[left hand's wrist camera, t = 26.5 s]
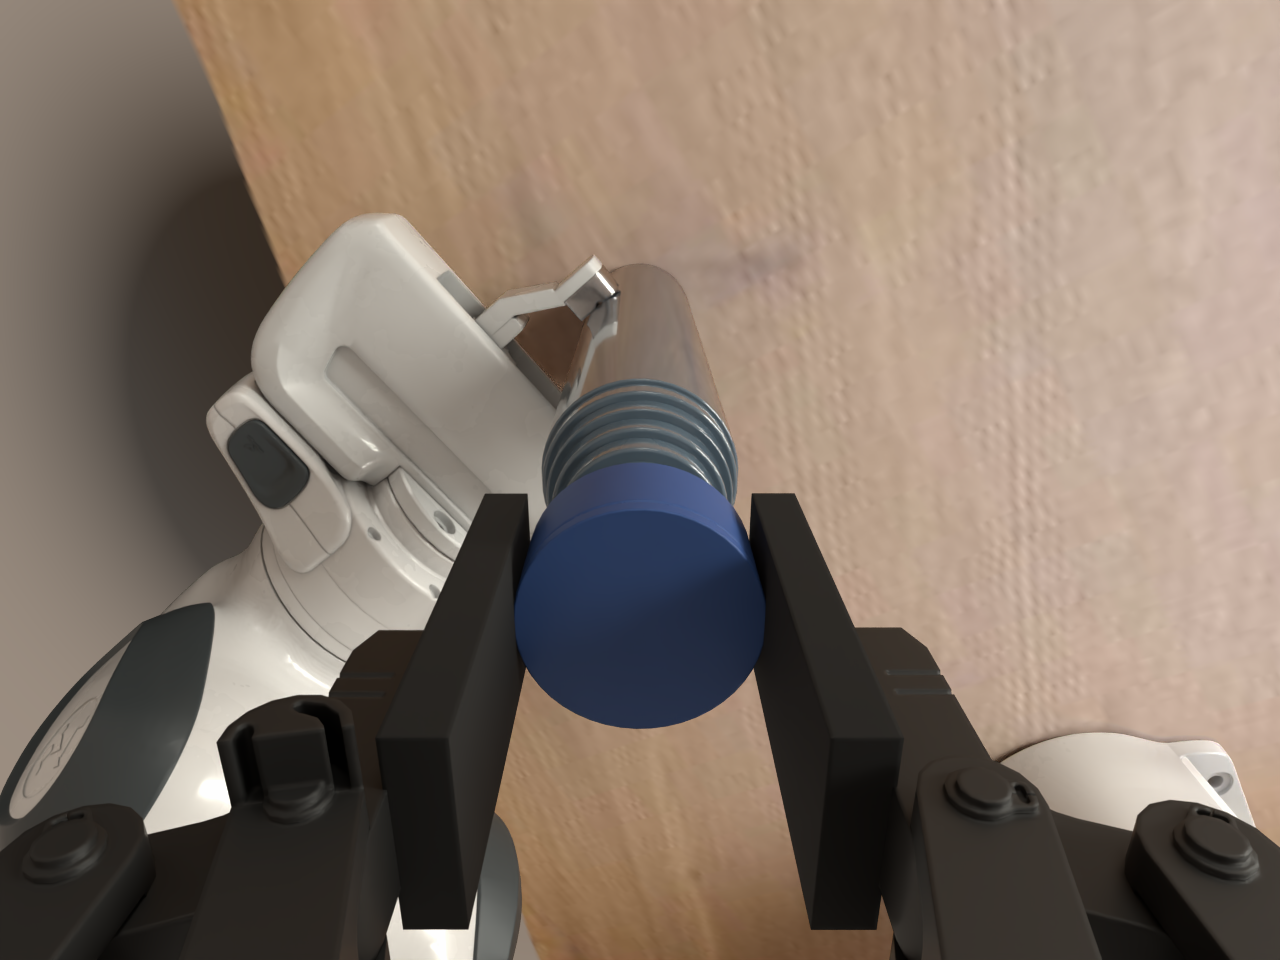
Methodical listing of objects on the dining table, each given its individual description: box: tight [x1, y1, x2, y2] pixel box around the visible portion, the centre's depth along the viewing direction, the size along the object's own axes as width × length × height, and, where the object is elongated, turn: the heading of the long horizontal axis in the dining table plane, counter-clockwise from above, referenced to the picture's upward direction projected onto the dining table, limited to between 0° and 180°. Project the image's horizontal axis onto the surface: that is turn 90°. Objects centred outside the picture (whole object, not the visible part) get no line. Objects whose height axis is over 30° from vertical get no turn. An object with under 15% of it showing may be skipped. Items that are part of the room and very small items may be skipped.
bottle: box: [541, 264, 738, 508], centre depth 26 cm, size 4×4×26 cm
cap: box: [514, 463, 766, 729], centre depth 14 cm, size 4×4×2 cm
